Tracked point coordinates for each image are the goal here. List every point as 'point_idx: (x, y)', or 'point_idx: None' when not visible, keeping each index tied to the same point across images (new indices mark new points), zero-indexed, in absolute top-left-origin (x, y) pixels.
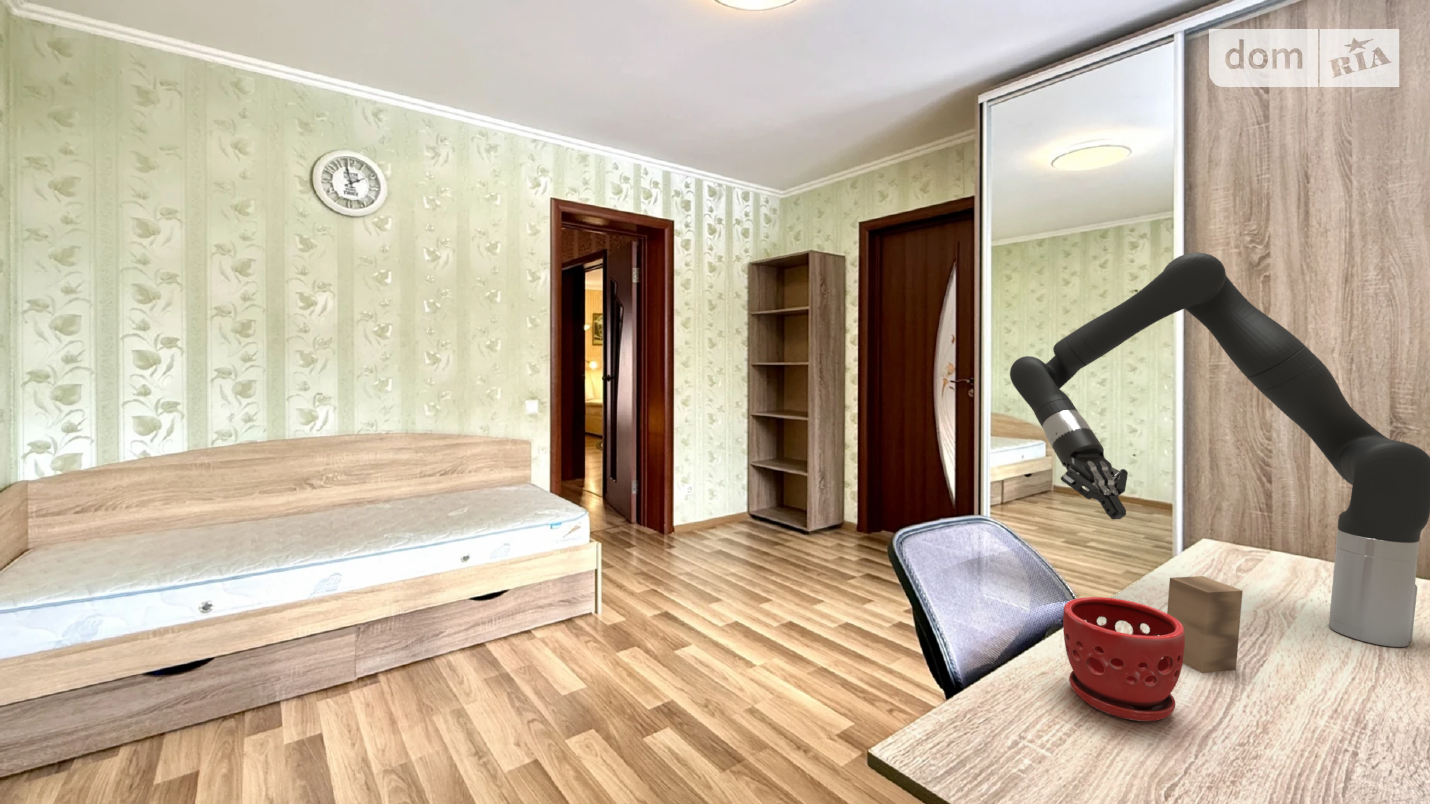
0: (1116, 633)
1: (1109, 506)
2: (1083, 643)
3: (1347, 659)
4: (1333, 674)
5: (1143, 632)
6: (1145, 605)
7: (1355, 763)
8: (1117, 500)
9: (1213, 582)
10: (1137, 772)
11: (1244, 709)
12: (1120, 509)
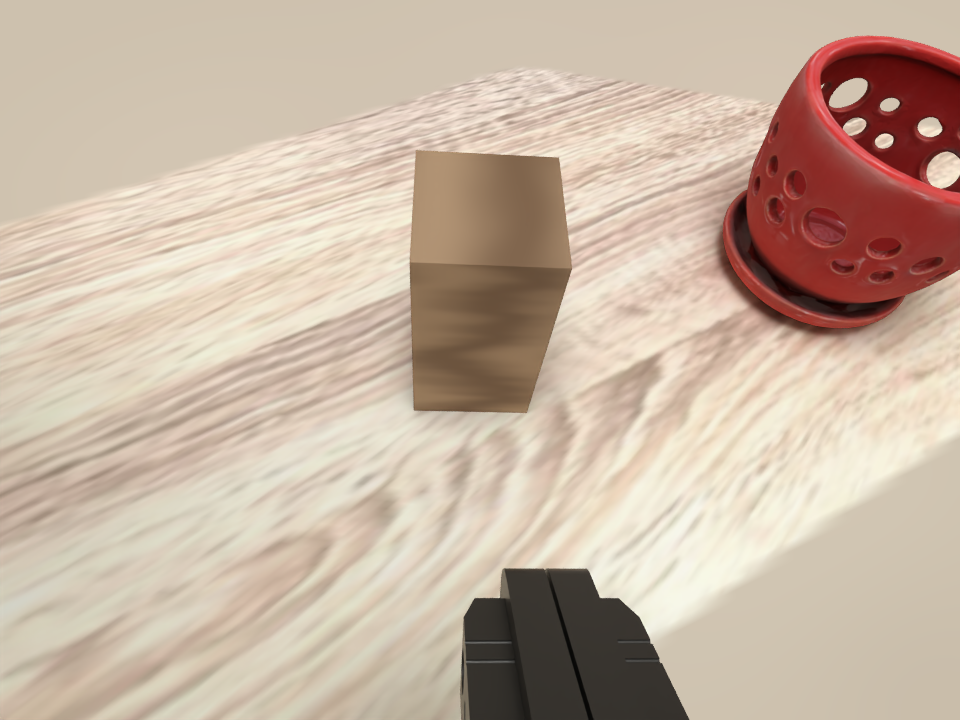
0: None
1: (652, 651)
2: None
3: (30, 312)
4: (190, 268)
5: (795, 193)
6: (839, 130)
7: (533, 105)
8: (539, 672)
9: (441, 210)
10: (875, 144)
11: (566, 212)
12: (555, 588)
